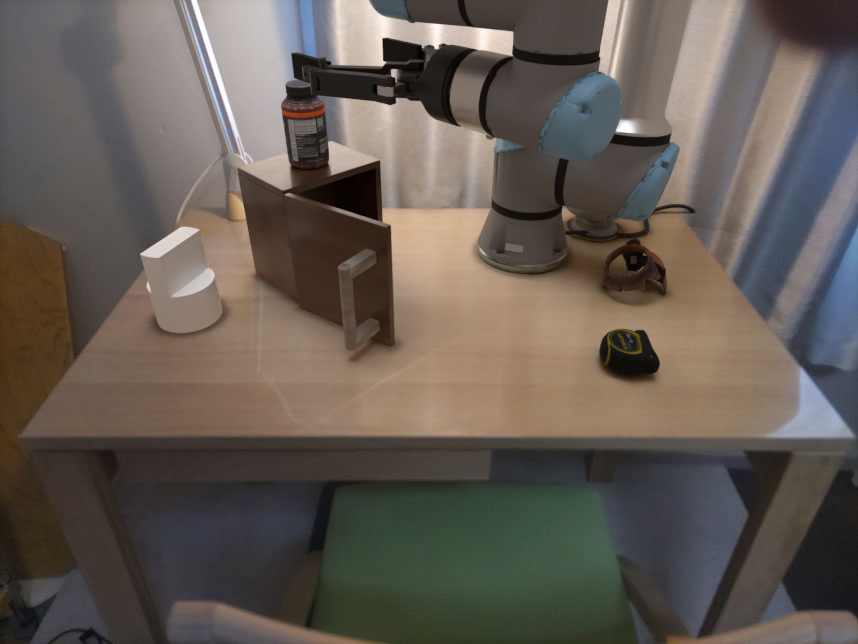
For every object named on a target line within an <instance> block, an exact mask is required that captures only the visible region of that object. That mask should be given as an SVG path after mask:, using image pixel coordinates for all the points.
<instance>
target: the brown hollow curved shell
mask: <svg viewBox="0 0 858 644" xmlns="http://www.w3.org/2000/svg"><path fill="white" fill-rule="evenodd" d="M620 256H622V257H623V260H624V261H625V267H626V272H634V273H633V274H630V275H618V274H615V273H613V272H612V271H611V269H610V267H611V265H612V263H613V261H614V260H615V259H617V258H619V257H620ZM603 263H604V265H605V266H604V268H603V271H602V274H601V285H602V288H603V289H605V288H607V289H609V290H612V291H615V292H617V293H621V292H626V293H627V292H632V291H639V292H642V293H646V286H645V285H646V280H649V281H655V282H658V283H659V284H660V285H661V287H662V295H663V296H666V295H667V289H668V279H667V271H666V267H665V264H664V262H663V260H662V259H661V257H659V256H658V255H657V254H656V253H655V252H653V251H651V250H650V248H647V247H646V246H645V245H642V243H641V240H639V238H637V237H636V238H635V237H633V238H632V239H628V240H627V241H626V243H625V244H623V245H621V246H619V247H617V248H615V249H613V250H612V251H611V252H610V253H609V254H608V255H607V256H606V258H605V260H604V262H603Z"/></svg>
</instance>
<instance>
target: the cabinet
mask: <svg viewBox="0 0 858 644" xmlns="http://www.w3.org/2000/svg"><path fill="white" fill-rule="evenodd" d="M328 147H329V162H328V163H327V164H326V165H324V166H322V167H319V168H316V169H300V168H296V167H294V166H292V165H291V164H290V163H289V159H288V153H287V152H286V153H283V154H280V155H276V156H272V157H269V158H268V157H267V158H264V159H261V160H258V161H253V162H250V163H246V164H244V165H240V166H236V171H237V176H238V183H239V188H240V193H241V199H242V204H243V210H244V216H245V221H246V226H247V232H248V238H249V243H250V249H251V254H252V260H253V266H254V270H255V275H256V276H257V277H259V278H261V279H262V280H264V281H265V282H266V283H268V284H269V285H270V286H272V287H274V288H275V289H276V290H277V291H279V292H281V293H282V294H284V295H285V296H287V297H288V298H289V299H291V300H292V301H293V302H295V303H296V304H298V305H299V301H298V294H297V287H296V280H295V273H294V266H293V258H292V251H291V244H290V237H289V230H288V223H287V216H286V208H285V201H284V195H285V194H287V193H291V194H294V195H298V196H301V197H304V198H307V199H310V200H313V201H317V202H320V203H323V204H326V205H329V206H332V207H336V208H339V209H342V210H345V211H348V212H351V213H355V214H358V215H361V216H364V217H367V218H370V219H374V220H377V221H380V222H383V223H384V220H383V200H382V199H383V196H382V195H383V193H382V172H381V171H382V169H381V159H378V158H376V157H374V156H371V155H368V154H366V153H363V152H361V151H358V150H356V149H353V148H351V147H348V146H345V145H343V144H340V143H339V142H335V141H333V140H330V141H328Z"/></svg>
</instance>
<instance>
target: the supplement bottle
mask: <svg viewBox="0 0 858 644" xmlns="http://www.w3.org/2000/svg"><path fill="white" fill-rule="evenodd" d="M284 86H285V94H286V97H284V99H282V101H281V105H280V109H281V116H282V117H281V118H282V124H283V131H284V137H285V146H286V153H288V159H289V163H290V164H291V165H292V166H294V167H296V168H300V169H316V168H319V167H322V166H324V165H326V164H327V163H328V162H329V147H328V142H329V138H328V127H327V119H326V118H327V117H326V108H325V107H326V106H325V102H324V100H323V99H322V98H321V96H315V95H312V94H311V85H310V83H308V82H304V81H301V80H298V79H293V80H288V81H287V82H286V83H285V85H284Z"/></svg>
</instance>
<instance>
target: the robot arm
mask: <svg viewBox="0 0 858 644" xmlns="http://www.w3.org/2000/svg"><path fill="white" fill-rule="evenodd" d="M368 1H369V3H370V6H371V8H373V9H374V10H375V11H376V13H378V14H379V15H380V16H383V17H385V18H391V19H395V20H402V21H407V22H408V23H410V24H416V23H419V24H420V23H422V24H431V25H445V26H455V27H468V28H474V29H485V30H495V31H502V32H503V31H504V32H512V49H511V50H512V51H511V55H509V54H505V53H500V52H494V51H489V50H484V49H476V48H472V47H467V46H462V45H457V44H446V43H440V44H437V45H438V47H437V48H436V47H435V46H434V45H432V44H427V45H424V46H423V44H420V43H415V42H409V41H407V40H406V41H405V40H400V39H396V38H390V37H382V38H381V41H382V42H381V43H382V44H381V45H382V46H381V47H382V62H384V63H383V65H353V64H332V61H331V60H327V57H326V56H322V57H316V56H312V55H308V54H305V53H301V52H291V53H290V54H291V65H292V72H293V73H292V74H293V79H294V80H301V81H304V82H308V83H310V85H311V94H312V95H315V96H318V97H331V98H339V99H348V100H356V101H366V102H367V101H368V102H375V103H379V104H383V105H387V106H393V105H396V104H397V99H407V100H408V101H410V102H420V103H421V104H422V106H423V108H424V110H425V112H426V113H427V114H428V115H429V116H430V117H431V118H432V119H434V120H435V121H439V122H443V123H445V124H448V125H451V126H455V127H460V128H463V129H465V130H470V131H473V132H476V133H480V134H482V135H485V138H486V140H489V141H491V140H494V139H495V144H494V147H493V153H494V154H493V166H492V167H493V169H492V185H491V187H492V188H491V203H490V209H489V211H488V213H487V215H486V219H485V221H484V223H483V225H482V228H481V230H480V233H479V235H478V239H477V247H476V249H477V254H478V256H479V257H480V258H481V259H482V261H484V262H485V263H486V264H487V265H490V266H492V267H494V268H495V269H499V270H502V271H506V272H508V273H509V272H510V273H515V274H539V273H546V272H549V271H552V270H555V269H557V268H559V267H561V266H562V265H563V264H564V262H565V261H566V259H567V255H568V250H569V247H568V246H569V244H568V239H567V236H574V235H584V234H587V233H588V231H568V230H566V229H565V228H566V227H565V223H564V219H563V207H566V206H567V207H571V208H576V209H580V210H585V211H589V212H594V213H598V214H602V215H606V216H610V217H615V219H617V220H619V219H621V220H628V221H633V222H643V224H644V229H642V230H640V231H635V232H620V233H616V234H617V237H616V238H635V237H640V236H643V235H645V234H647V233H648V232H649V230H650V222H649V218H650V217H651V216H652V214H654V213H656V212H660V211H664V210H669V209H684V210H687V211H688V212H689V213H691V214H695V213H696V211H695V209H694V208H693V207H691V206H690V205H687V204H684V203H671V204H665V205H661V206H658V204H659V202H660V201H661V198H662V196H663V194H664V192H665V190H666V188H667V185H668V183H669V182H670V178H671V177H672V173H673V171H674V168H675V166H676V164H677V160H678V156H679V153H680V149H681V147H680V145H679V144H678V143H677V144H676V142H674V141H671V137H672V135H673V134H672V133H673V126H672V125H671V123H670V121H668V119H667V118H666V110H667V105H668V100H669V97H670V92H671V88H672V84H673V79H674V77H675V76H674V75H675V72H676V67H677V63H678V59H679V55H680V50H681V47H682V41H683V38H684V33H685V30H686V25H687V20H688V18H689V17H688V16H689V12H690V9H691V8H690V7H691V3H692V0H620V3H619V9H618V13H617V18H616V19H617V20H616V23H615V31H614V34H613V35H614V36H613V42H612V47H611V52H610V58H609V61H608V62H609V64H608V68H607V74H606V73H604V72H603V71H600V66H601V65H600V64H601V56H600V54H601V47H602V40H603V35H604V28H605V23H606V18H607V12H608V7H609V2H610V1H609V0H368ZM392 70H396V72H395V76H393V75H392Z"/></svg>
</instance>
